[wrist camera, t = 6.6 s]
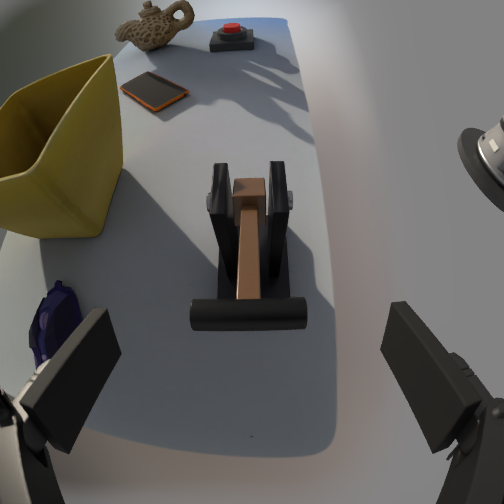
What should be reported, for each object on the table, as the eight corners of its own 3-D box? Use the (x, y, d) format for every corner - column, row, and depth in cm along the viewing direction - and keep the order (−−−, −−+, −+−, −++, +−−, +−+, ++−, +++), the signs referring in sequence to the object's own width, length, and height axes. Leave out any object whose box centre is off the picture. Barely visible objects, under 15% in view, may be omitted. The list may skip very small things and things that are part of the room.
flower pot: (117, 262, 30) (31, 170, 15) (18, 260, 31) (-56, 199, 16) (149, 145, 39) (114, 51, 23) (56, 161, 39) (12, 93, 24)
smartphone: (148, 73, 49) (147, 70, 49) (190, 94, 44) (190, 90, 43) (119, 89, 47) (117, 86, 47) (155, 114, 42) (154, 110, 41)
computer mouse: (36, 400, 23) (15, 399, 19) (36, 288, 29) (18, 277, 26) (93, 407, 23) (72, 408, 20) (88, 280, 30) (70, 266, 26)
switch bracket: (289, 307, 28) (310, 253, 16) (218, 309, 28) (189, 255, 16) (283, 220, 32) (293, 135, 21) (221, 222, 32) (203, 138, 21)
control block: (253, 36, 57) (252, 23, 53) (253, 49, 52) (253, 35, 49) (214, 38, 57) (212, 25, 53) (210, 52, 52) (208, 38, 49)
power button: (240, 28, 52) (240, 22, 50) (240, 33, 50) (239, 27, 49) (223, 29, 52) (223, 23, 51) (222, 34, 50) (222, 28, 49)
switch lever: (303, 340, 13) (310, 308, 11) (196, 342, 13) (185, 310, 11) (282, 205, 22) (283, 177, 20) (218, 206, 22) (215, 179, 20)
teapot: (117, 65, 54) (102, 18, 41) (125, 49, 59) (113, 8, 45) (198, 45, 55) (190, -5, 41) (198, 32, 60) (191, -12, 46)
